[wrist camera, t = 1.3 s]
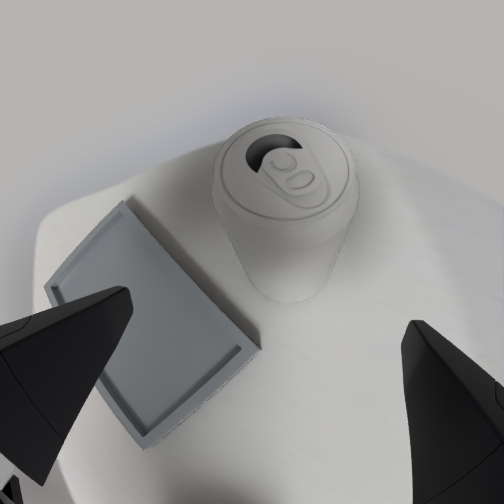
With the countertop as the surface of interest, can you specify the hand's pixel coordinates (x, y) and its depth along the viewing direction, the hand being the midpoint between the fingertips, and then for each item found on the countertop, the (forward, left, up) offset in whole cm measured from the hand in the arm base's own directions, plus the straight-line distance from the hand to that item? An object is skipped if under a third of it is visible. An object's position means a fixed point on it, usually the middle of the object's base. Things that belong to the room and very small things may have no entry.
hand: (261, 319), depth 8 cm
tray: (+10, +7, -12) cm, 17 cm away
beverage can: (+4, -5, -12) cm, 14 cm away
